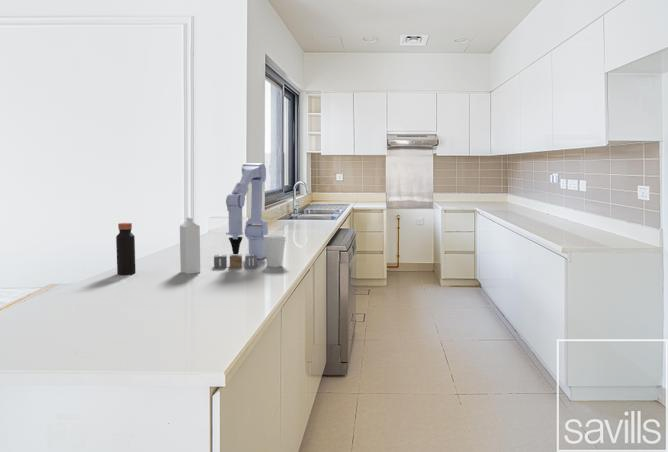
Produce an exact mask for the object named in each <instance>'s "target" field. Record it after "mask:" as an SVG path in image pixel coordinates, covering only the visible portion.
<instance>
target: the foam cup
mask: <svg viewBox="0 0 668 452" xmlns="http://www.w3.org/2000/svg"><path fill="white" fill-rule="evenodd" d="M285 243H286V235H284V234H268V235H264V245H265V253H266V257H265V259H266V266H267V267H268V268H269V267H270V268H279V266H280V267H282V266H283V259H284V252H285Z"/></svg>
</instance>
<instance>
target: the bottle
mask: <svg viewBox="0 0 668 452" xmlns="http://www.w3.org/2000/svg"><path fill="white" fill-rule="evenodd" d="M132 225H133V223H131V222H120V223H118V224H117V226H118V231H119V232H118V234H117V235H116V236H115V240H116V242H115V244H116V245H115V246H116V270H117V275H119V276H131V275H134V274H136V243H135V242H136V241H135V238H136V237H135V235H134V234H133V233H132V229H133V227H132Z"/></svg>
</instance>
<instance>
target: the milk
mask: <svg viewBox="0 0 668 452" xmlns="http://www.w3.org/2000/svg"><path fill="white" fill-rule="evenodd" d="M200 232H201V231H200V225H198V224H196V223H195V222H194V221H193V218H191V217H186V221H184V222H183V223H182V224H180V225H179V249H180V250H179V251H180V253H179V254H180V255H179V256H180V257H179V260H180V261H179V262H180V273H182V274H184V275H191V274H198V273H199V274H200V273H201V233H200Z"/></svg>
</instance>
